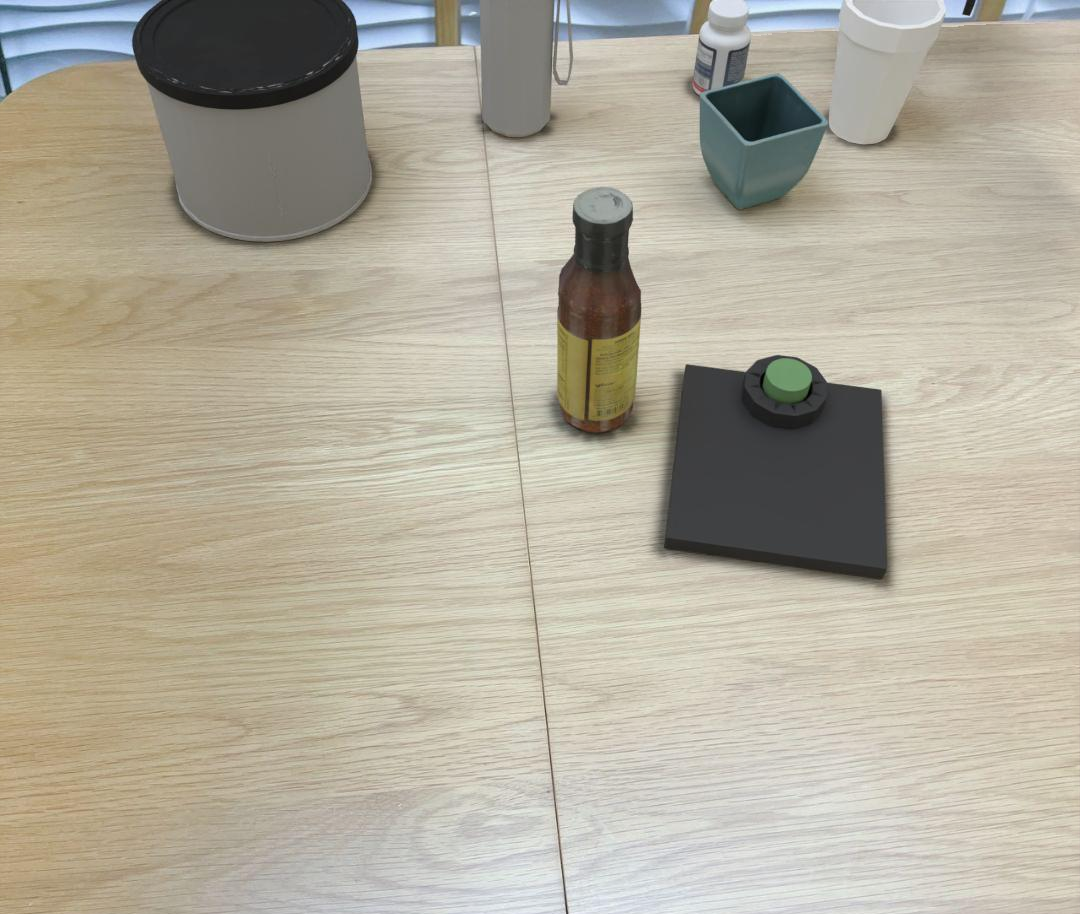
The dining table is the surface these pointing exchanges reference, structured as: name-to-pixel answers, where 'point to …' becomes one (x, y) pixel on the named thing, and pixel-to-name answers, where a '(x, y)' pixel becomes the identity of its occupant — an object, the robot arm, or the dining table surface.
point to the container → (258, 112)
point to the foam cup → (879, 63)
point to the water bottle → (519, 63)
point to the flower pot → (758, 138)
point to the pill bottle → (722, 46)
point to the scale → (779, 473)
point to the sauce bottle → (598, 315)
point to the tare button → (787, 381)
